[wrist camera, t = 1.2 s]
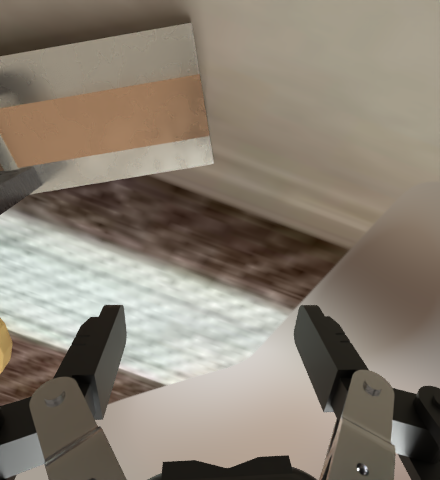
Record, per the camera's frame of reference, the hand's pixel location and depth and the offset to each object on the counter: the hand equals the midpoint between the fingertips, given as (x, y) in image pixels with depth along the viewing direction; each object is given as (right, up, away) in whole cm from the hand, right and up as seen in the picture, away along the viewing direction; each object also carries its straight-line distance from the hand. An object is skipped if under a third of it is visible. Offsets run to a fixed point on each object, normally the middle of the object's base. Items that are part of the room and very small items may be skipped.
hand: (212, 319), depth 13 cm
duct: (-11, +15, +14) cm, 23 cm away
